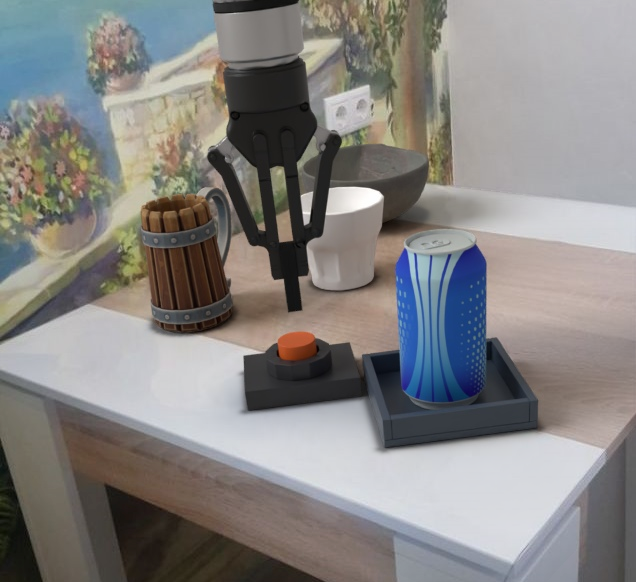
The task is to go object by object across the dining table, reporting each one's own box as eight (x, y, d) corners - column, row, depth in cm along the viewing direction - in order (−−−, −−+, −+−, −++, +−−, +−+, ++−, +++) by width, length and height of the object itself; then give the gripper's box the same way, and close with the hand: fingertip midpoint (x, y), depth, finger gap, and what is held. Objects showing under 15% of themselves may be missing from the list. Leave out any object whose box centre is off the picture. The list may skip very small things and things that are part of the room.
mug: (203, 338, 108) (182, 218, 101) (137, 328, 113) (112, 213, 106) (269, 292, 120) (255, 181, 112) (207, 285, 125) (188, 178, 117)
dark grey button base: (351, 359, 99) (348, 327, 97) (361, 396, 92) (359, 361, 90) (246, 372, 99) (240, 340, 97) (247, 410, 91) (242, 376, 89)
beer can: (413, 373, 93) (406, 225, 85) (492, 378, 91) (494, 226, 82) (392, 411, 87) (383, 254, 78) (477, 418, 84) (477, 256, 76)
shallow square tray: (496, 362, 95) (497, 336, 94) (537, 428, 83) (538, 400, 81) (363, 379, 95) (361, 354, 94) (384, 447, 83) (382, 420, 81)
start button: (315, 343, 95) (313, 329, 94) (318, 359, 92) (316, 344, 91) (278, 348, 95) (276, 333, 94) (280, 364, 92) (278, 349, 91)
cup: (367, 257, 128) (362, 181, 122) (403, 284, 118) (399, 201, 112) (286, 275, 125) (277, 197, 119) (316, 303, 115) (307, 220, 109)
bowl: (286, 239, 139) (278, 175, 134) (334, 201, 155) (329, 142, 149) (408, 244, 131) (405, 176, 126) (445, 203, 147) (444, 142, 142)
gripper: (331, 46, 82) (352, 285, 94) (192, 64, 82) (231, 301, 94) (339, 56, 76) (361, 311, 88) (189, 75, 75) (232, 329, 87)
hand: (294, 306), depth 91 cm, fingers closed
